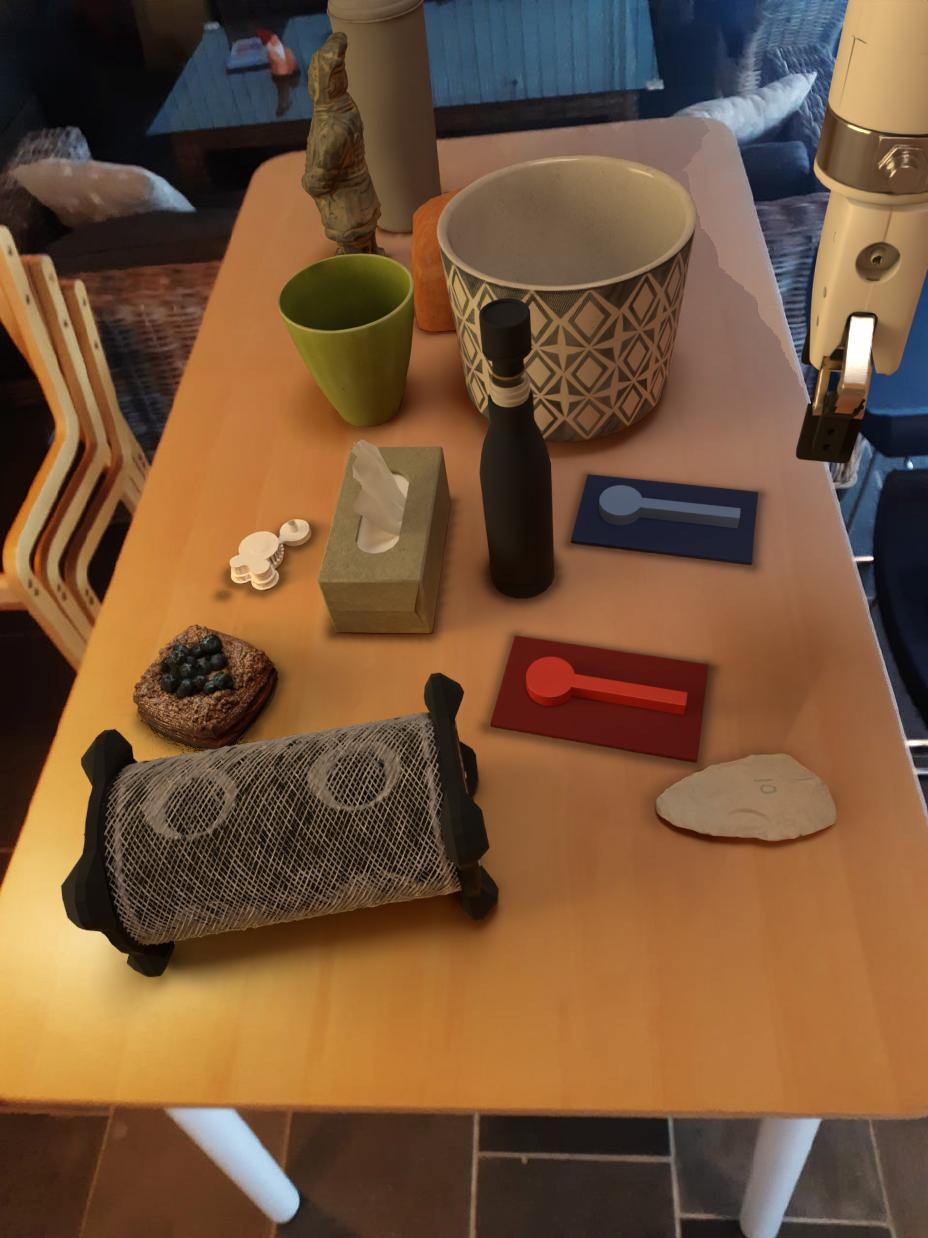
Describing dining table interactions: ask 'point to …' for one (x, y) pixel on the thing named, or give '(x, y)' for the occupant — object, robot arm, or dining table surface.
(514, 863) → the dining table surface
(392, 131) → the canister
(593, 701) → the maroon mat
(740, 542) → the navy mat
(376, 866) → the speaker
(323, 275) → the flower pot
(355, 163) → the statue
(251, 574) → the white lobed flat piece
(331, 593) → the tissue box
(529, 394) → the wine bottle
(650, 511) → the grey spoon
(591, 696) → the red spoon
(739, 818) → the stone
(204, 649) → the pastry
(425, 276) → the bread
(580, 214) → the planter
